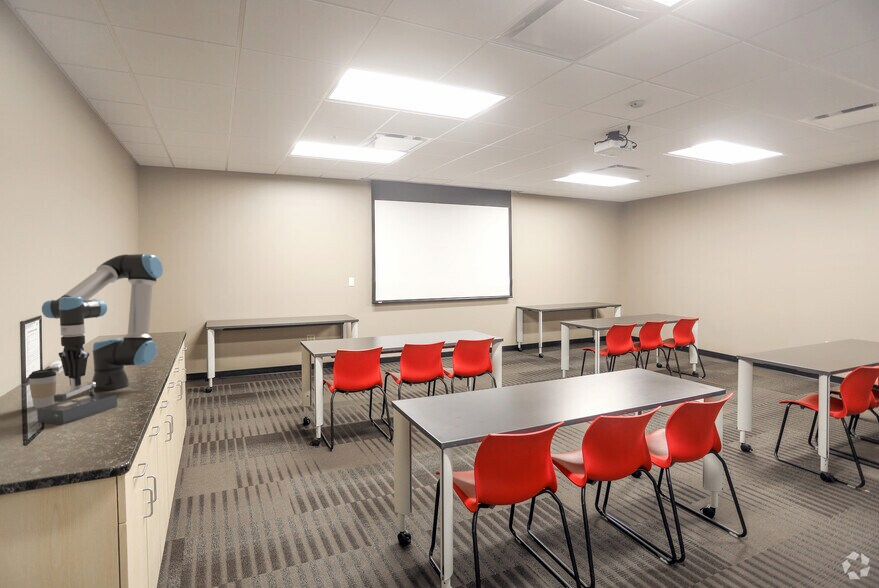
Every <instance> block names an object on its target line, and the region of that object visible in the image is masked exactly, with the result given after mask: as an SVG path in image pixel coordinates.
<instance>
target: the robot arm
mask: <svg viewBox="0 0 879 588" xmlns="http://www.w3.org/2000/svg"><path fill="white" fill-rule="evenodd" d="M163 271H164V270H163V265H162V262H161V260H160V259H159V257H158V256H157V255H154V254H146V253H142V254H135V253H134V254H120V255H117V256H116V255H115V256H114V257H112V258H110V259H107V260H106V261H104V262H102V264H100V265H99V266H98V265H97V268H96V271H95V272H93V273H92V274H90V275H89V276H87V277H86V278H84V279H83V280H82V281H80V283H78V284H76V285H75V286H74V287H72V288H71V289H70V290H68V291H67V292H66V293H64V294H62V295H61V296H60V297H59V298H57V299H49V300H47V301H45V302H43V304H42V306H41V312H42V315H43V316H44V317H46V318H48V319H56V320H57V319H59V326H60V336H61V337H60V346H62V347H63V350H62V351H61V352H58V356H59V358H60V361H61V365H62V369H63V373H64V376H65V377H68V379H69V385H70V390H73V389H75V388H78V387H81V386H82V379H81V378H82V377H84V376H85V375H86V371H87V365H88V358H89V357H90V353H89V352H86V351H85V348H84V345H85V344H86V336H85V335H84V334H85V333H86V332H85V331H86V329H85V320H86V319H93V318H100V317H103V316H105V314H106V313H107V312H108V306H107V304H106V302H105V301H104V300H101V299H95V298H94V299H92V298H93V297H94V296H95V295H97V294H98V293H99V292H101V291H102V290H103V289H104V288H105V287H106V286H108V285H109V284H111V283H115V282H117V281H118V280H122V279H128V280H127V281H128V282H129V283H130V284H131V288H130V302H129V303H130V304H129V314H128V328H127V333H126V335H124V336H123V338H122V337H115V338H111V339H110V338H109V339H103V340H99V341H96V342H94V343H93V346H92V356H93V358H92V359H93V370H94V371H93V372H94V373H93V376H92V380H91V382H96V387H95V388H94V392H100V391H101V392H103V391H111V390H117V389H122V388H125V387H127V386H129V385H130V380H129V378H128V376H127V374H126V373H127V372H126V371H125V367H126V366H137V367H139V366H147V365H150V364H151V363H152V362H153V361H154V360H155V358H156V357H157V353H158V346H157V343H156V342H155V341H153V337H152V336H151V335H150V324H151V322H150V321H151V311H152V310H151V308H152V296H153V294H152V293H153V286H154V285H155V284H156V283H157V279H158V278H161V276H162V274H163ZM79 394H82V392H80V393H78V394H77V395H79Z"/></svg>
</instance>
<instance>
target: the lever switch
mask: <svg viewBox="0 0 879 588" xmlns="http://www.w3.org/2000/svg"><path fill="white" fill-rule="evenodd" d="M88 392H89V393H88V394H84V395H82V396H78V397H75V398H71V399H68V400H64V401H59V402H57V403H56V402H55V404H53V405H49V406H46V407H42V408H36V410H37V423H44V424H45V423H46V424H54V425H55V424H57V425H66V424H69V423H71V422H75V421H79V420H81V419H83V418H86V417H90V416H92V415H95V414H98V413H99V414H100V413H102V412H105V411H109V410H111V409H113V408H116V407H118V396H117V395H118V394H113V393H100V392H99V393H97V392H95V391H94V388H90V389H88Z"/></svg>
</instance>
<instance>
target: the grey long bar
mask: <svg viewBox="0 0 879 588" xmlns="http://www.w3.org/2000/svg"><path fill="white" fill-rule="evenodd" d="M95 387H96V382H92V381H89V382H86V384H83V385H80V387H78V388H75V389H73V390H71V389H70V390H68V391H66V392H63V393H56V394H55V395H54V401H55V402H64V401H67V399H68V398H71V397H73V396H75V395H79V394H81V393H82V392H85V391H87V390H89V389H90V388H95ZM80 392H81V393H80ZM78 393H79V394H78Z"/></svg>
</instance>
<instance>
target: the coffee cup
mask: <svg viewBox="0 0 879 588" xmlns="http://www.w3.org/2000/svg"><path fill="white" fill-rule="evenodd" d="M27 378H28V380H29V389H30V396H31V398H32V406H33V408H35V409H39V408H42V407H46V406H49V405H53V404H56V401H54V395H57V392H56V391H57V379H56V378H57V372H56V371H54V370H53V368H45V369H38V370H34V371H32V372H31V373H30V374H29V375H28V377H27Z"/></svg>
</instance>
